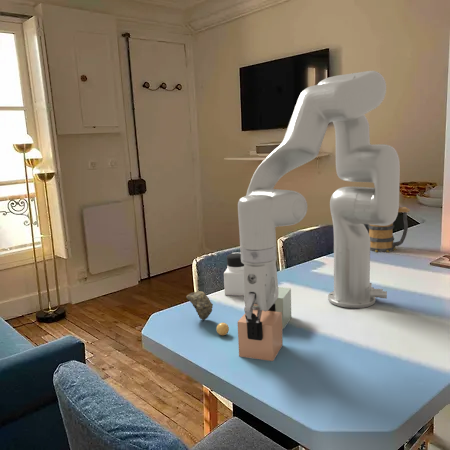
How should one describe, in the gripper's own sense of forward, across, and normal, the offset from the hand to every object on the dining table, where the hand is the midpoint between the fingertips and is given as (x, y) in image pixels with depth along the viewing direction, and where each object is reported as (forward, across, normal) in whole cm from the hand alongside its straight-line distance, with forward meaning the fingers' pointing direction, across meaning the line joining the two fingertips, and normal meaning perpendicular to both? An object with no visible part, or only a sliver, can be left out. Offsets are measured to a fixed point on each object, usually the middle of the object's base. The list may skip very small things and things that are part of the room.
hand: (262, 329), depth 97 cm
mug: (+8, +93, -21) cm, 96 cm away
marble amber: (+5, +4, +12) cm, 14 cm away
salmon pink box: (+5, -1, 0) cm, 5 cm away
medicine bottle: (+6, +34, +19) cm, 39 cm away
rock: (+5, +10, +20) cm, 23 cm away
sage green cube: (+5, +15, +2) cm, 16 cm away
